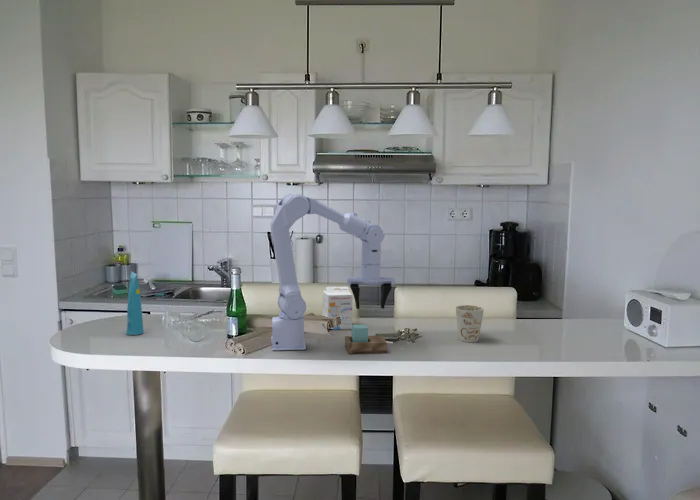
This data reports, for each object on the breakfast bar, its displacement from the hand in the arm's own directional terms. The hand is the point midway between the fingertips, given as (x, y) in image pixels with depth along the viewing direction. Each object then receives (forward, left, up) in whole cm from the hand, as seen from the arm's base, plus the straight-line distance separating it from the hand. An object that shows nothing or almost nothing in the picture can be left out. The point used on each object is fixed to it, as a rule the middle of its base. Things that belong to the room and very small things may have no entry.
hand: (370, 308), depth 160 cm
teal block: (-5, -10, -9) cm, 14 cm away
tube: (-72, +14, -10) cm, 74 cm away
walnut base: (-3, -10, -10) cm, 14 cm away
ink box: (-8, +17, -10) cm, 21 cm away
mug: (+32, -1, -10) cm, 34 cm away
